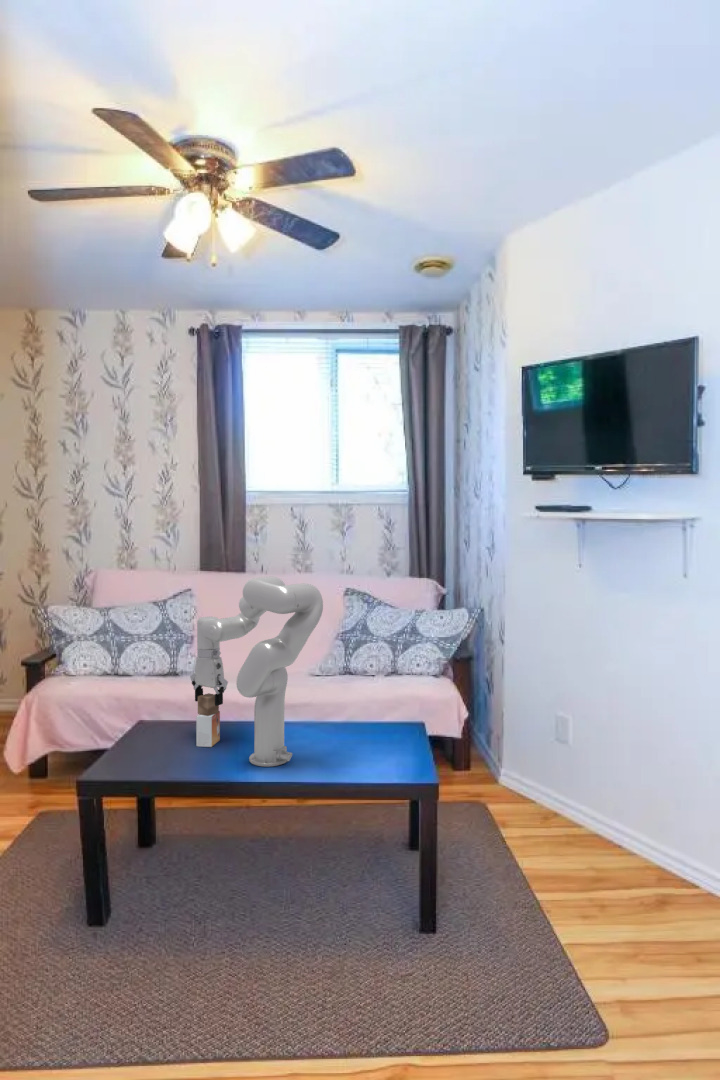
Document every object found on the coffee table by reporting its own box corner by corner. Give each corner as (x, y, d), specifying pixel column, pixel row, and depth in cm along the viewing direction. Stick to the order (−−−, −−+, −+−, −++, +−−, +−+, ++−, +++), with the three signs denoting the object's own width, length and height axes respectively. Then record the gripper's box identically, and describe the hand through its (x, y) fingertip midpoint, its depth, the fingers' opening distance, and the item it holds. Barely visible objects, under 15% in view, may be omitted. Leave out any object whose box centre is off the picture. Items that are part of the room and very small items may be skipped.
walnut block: (218, 712, 231) (218, 695, 231) (207, 716, 227) (207, 698, 227) (208, 710, 234) (208, 693, 234) (197, 713, 230) (197, 696, 229)
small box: (211, 747, 226) (211, 716, 226) (195, 746, 227) (195, 715, 227) (220, 740, 234) (220, 710, 234) (205, 739, 235) (205, 709, 235)
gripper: (234, 654, 228) (234, 704, 228) (199, 648, 238) (199, 696, 238) (218, 657, 222) (218, 709, 222) (182, 652, 231) (183, 701, 232)
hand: (208, 702), depth 230 cm, fingers open, 9 cm apart
